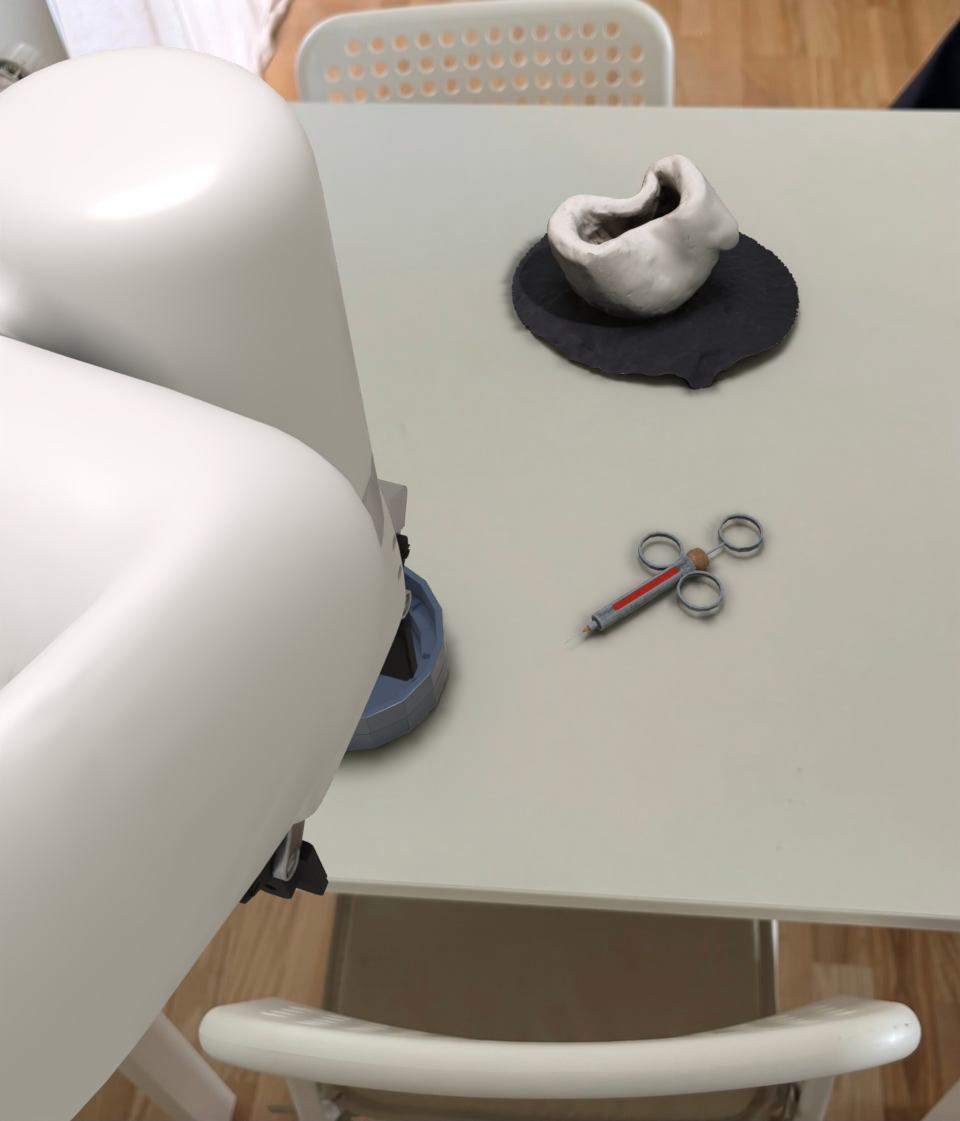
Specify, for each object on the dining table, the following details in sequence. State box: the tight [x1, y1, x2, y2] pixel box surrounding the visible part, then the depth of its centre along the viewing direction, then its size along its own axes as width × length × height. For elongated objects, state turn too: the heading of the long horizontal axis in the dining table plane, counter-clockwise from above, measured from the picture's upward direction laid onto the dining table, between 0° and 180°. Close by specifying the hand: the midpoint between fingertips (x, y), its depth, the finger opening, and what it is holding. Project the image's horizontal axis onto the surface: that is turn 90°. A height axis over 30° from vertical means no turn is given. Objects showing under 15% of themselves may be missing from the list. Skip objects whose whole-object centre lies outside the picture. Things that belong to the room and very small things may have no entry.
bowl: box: [346, 564, 449, 752], centre depth 76 cm, size 13×13×5 cm
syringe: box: [563, 513, 764, 644], centre depth 80 cm, size 8×18×2 cm, turn 124°
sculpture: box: [511, 153, 801, 390], centre depth 94 cm, size 23×25×13 cm
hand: (338, 766), depth 45 cm, fingers open, 9 cm apart
